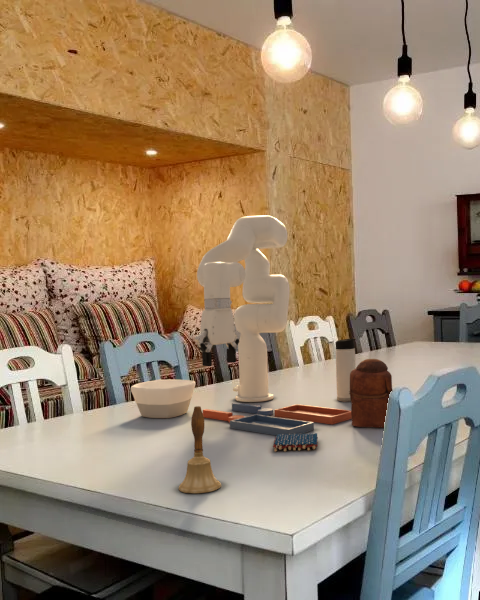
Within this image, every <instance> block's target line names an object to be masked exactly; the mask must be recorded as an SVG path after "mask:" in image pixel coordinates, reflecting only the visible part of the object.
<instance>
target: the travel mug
mask: <svg viewBox="0 0 480 600" xmlns="http://www.w3.org/2000/svg"><path fill="white" fill-rule="evenodd" d="M356 340H357V338H356V337H352V338H345V339H339V340H336V341H335V378H336V401H338V402H343V403H344V402H345V403H346V402H347V403H349V402H351V399H350V373H351V371H352V370H354V369H356V367H357V365H356V346H355V345H356V344H355V343H356V342H355V341H356Z"/></svg>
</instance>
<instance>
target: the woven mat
mask: <svg viewBox="0 0 480 600" xmlns="http://www.w3.org/2000/svg"><path fill="white" fill-rule="evenodd" d="M318 439H319V437H318V433H317V432H314V433H313V432H312V433H311V432H309V433H302V434H291V435H290V434H289V435H287V434H285V435H283V434H282V435H281V434H279V435H277V436H276V437H274V441H273V445H272V447H273V451H274V452H277V451H278V450H279V451H280V450H283V452H287V449H288V450H289V451H291V450H293V451H296V450H297V451H301V450H305V449H307V451H311V449H312V450H315V449H316V447H318V443H319V442H318Z"/></svg>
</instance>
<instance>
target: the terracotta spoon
mask: <svg viewBox="0 0 480 600" xmlns="http://www.w3.org/2000/svg"><path fill="white" fill-rule="evenodd" d="M202 413H203V416H204V419H212V420H218V421H219V420H220V421H226V422H227V423H229V424H230V421H231V420H235V419H239V418H243V417H246V416H245V415H241V414H234V415H233V412H231V411H223V410H215V409H209V408H205V409H202Z"/></svg>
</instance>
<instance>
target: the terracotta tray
mask: <svg viewBox="0 0 480 600" xmlns="http://www.w3.org/2000/svg"><path fill="white" fill-rule="evenodd" d="M273 415H274V417H278V418H285V419H292V420H300V421H307V422H314V423H318V424H325V425H326V424H327V425H335V424H338V423H342V422H346V421H348V420H352V414H351V410H350V409H349V410H348V409H341V408H332V407H325V406H324V407H323V406H316V405H307V404H300V403H297V404H291V405H288V406H284V407H280V408H276V409H273Z"/></svg>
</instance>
